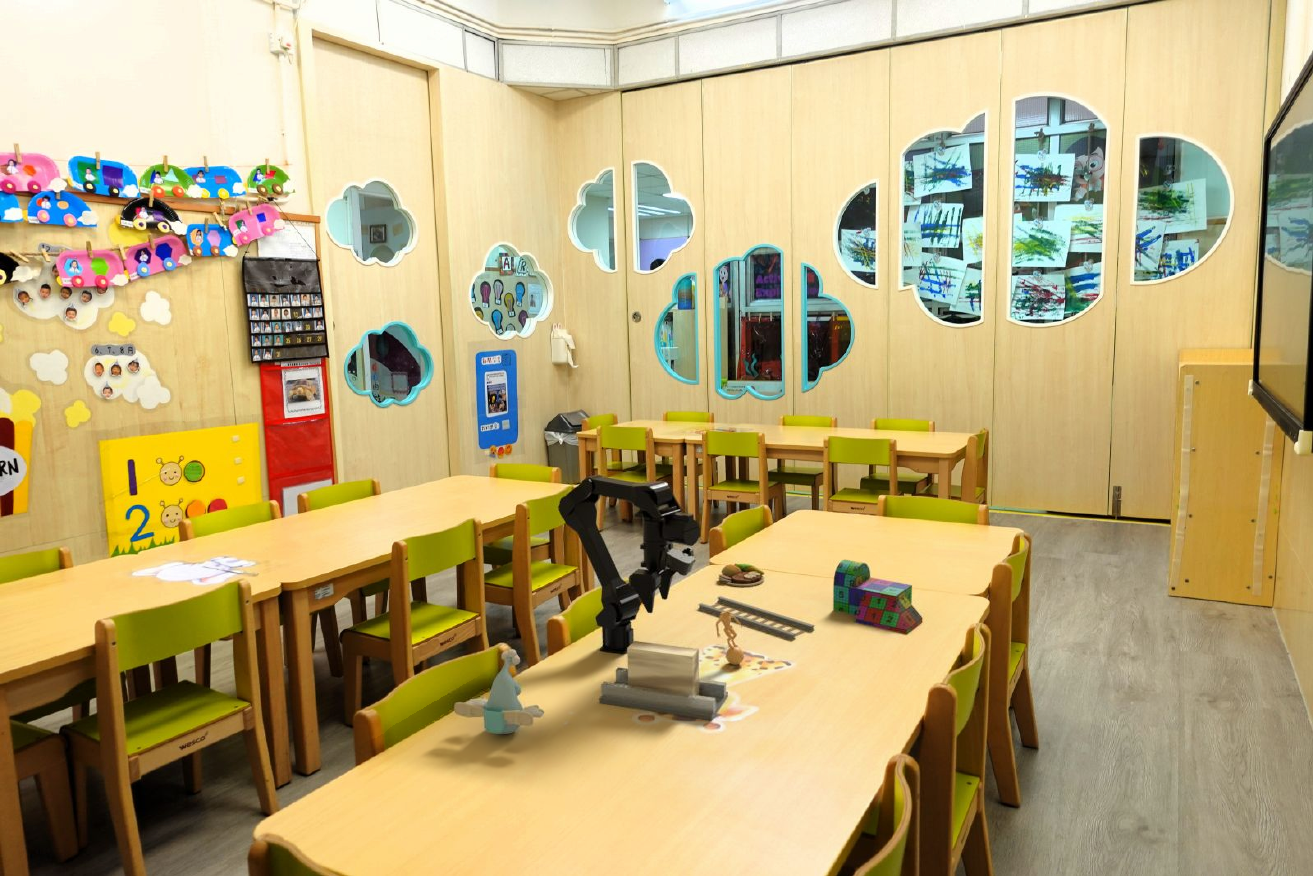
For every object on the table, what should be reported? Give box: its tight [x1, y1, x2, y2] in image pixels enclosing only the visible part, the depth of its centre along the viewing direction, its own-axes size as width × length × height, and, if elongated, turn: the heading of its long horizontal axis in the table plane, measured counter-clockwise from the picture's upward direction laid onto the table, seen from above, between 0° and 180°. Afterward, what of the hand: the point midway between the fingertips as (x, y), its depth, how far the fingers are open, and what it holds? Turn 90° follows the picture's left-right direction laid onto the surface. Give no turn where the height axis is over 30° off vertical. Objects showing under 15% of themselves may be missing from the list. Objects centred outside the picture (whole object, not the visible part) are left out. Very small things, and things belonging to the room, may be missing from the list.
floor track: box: [598, 667, 729, 721], centre depth 177 cm, size 24×11×4 cm, turn 69°
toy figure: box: [453, 648, 545, 735], centre depth 164 cm, size 17×10×15 cm, turn 71°
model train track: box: [697, 595, 815, 641], centre depth 221 cm, size 11×31×2 cm, turn 43°
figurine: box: [715, 610, 745, 666], centre depth 193 cm, size 8×6×12 cm
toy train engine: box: [832, 559, 923, 635], centre depth 221 cm, size 22×15×12 cm
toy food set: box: [718, 563, 765, 588], centre depth 252 cm, size 20×14×4 cm
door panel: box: [626, 640, 700, 696], centre depth 176 cm, size 4×14×10 cm, turn 69°
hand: (657, 605), depth 194 cm, fingers open, 9 cm apart
